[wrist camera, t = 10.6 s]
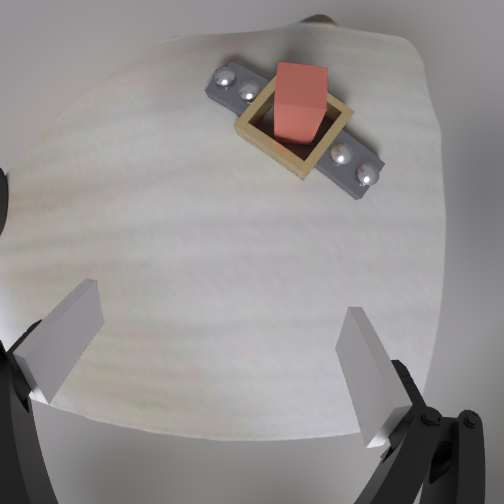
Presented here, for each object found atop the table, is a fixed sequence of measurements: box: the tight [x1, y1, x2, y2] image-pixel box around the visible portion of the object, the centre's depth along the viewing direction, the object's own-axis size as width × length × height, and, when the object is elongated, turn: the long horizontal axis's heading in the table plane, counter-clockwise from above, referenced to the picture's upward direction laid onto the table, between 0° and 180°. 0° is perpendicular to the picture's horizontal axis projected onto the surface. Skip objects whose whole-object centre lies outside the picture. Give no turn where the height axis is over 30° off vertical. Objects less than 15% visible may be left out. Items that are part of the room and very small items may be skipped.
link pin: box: [274, 62, 328, 146], centre depth 24 cm, size 4×4×11 cm
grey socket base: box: [205, 60, 385, 200], centre depth 28 cm, size 21×9×4 cm, turn 54°
